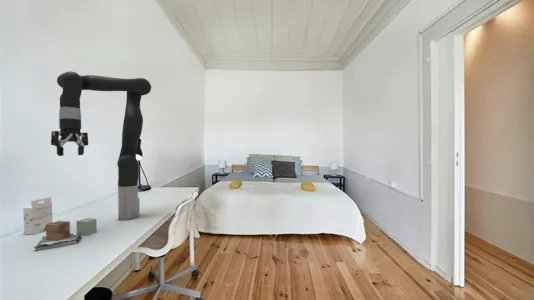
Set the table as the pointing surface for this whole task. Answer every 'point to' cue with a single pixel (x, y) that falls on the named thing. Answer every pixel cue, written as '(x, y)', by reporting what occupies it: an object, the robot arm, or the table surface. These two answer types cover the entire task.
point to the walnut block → (57, 230)
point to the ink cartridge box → (37, 216)
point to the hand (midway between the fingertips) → (70, 155)
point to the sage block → (86, 226)
